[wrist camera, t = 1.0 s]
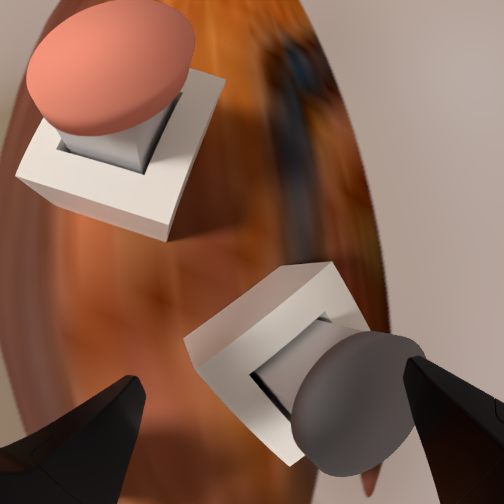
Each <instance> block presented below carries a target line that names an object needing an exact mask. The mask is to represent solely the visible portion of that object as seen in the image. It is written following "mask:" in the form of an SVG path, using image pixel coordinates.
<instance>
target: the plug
mask: <svg viewBox="0 0 504 504" xmlns="http://www.w3.org/2000/svg"><path fill="white" fill-rule="evenodd" d="M416 355H420V356H422V357H424V358H425V359H426V357H425V355H424V352H423V351H422V349H421V348H420V346H419V345H418V344H417V343H416V342H414V341H413V340H411V339H409V338H406V337H402V336H397V335H392V334H387V333H383V332H377V331H361V330H357V329H353V328H349V327H344V326H340V325H336V324H332V323H328V322H324V321H320V320H314V321H313V322H312V323H311V324H310V325H309V326H308V327H306V328H305V329H304V330H303V331H302V332H301V333H300V334H298V335H297V336H296V337H295V338H294V339H292V340H291V341H290V342H289V343H288V344H287V345H285V346H284V347H283V348H282V349H280V350H279V351H278V352H277V353H276V354H274V355H273V356H272V357H271V358H269V359H268V360H267V361H266V362H264V363H263V364H262V365H261V366H259V367H258V368H257V369H256V370H254V371H253V372H254V373H255V374H256V376H257V377H258V378H259V379H260V381H261V382H262V383H263V384H264V385H265V387H266V388H267V389H268V390H269V391H270V393H271V394H272V395H273V396H274V397H275V399H276V400H277V401H278V402H279V403H280V404H281V406H282V407H283V408H284V409H285V410H286V411H287V412H288V413H289V414H290V415H291V431H292V435H293V438H294V441H295V443H296V445H297V446H298V448H299V449H300V450H301V451H302V452H303V453H304V454H305V455H306V456H307V457H308V458H309V459H310V460H311V461H312V462H313V463H314V464H315V465H316V466H317V467H318V468H319V469H320V470H321V471H322V472H324V473H326V474H328V475H331V476H336V477H347V476H353V475H357V474H360V473H363V472H365V471H367V470H369V469H371V468H373V467H375V466H377V465H378V464H380V463H381V462H382V461H384V460H385V459H386V458H388V457H389V456H390V455H391V454H392V453H393V452H394V451H395V450H396V449H397V448H398V447H399V446H400V445H401V444H402V443H403V441H404V440H405V439H406V438H407V436H408V435H409V434H410V432H411V430H412V429H413V427H414V426H415V423H414V420H413V417H412V414H411V410H410V406H409V402H408V398H407V394H406V390H405V387H404V383H403V374H404V370H405V366H406V362H407V359H408V358H409V357H412V356H416Z"/></svg>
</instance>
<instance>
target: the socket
mask: <svg viewBox="0 0 504 504" xmlns="http://www.w3.org/2000/svg"><path fill="white" fill-rule="evenodd" d="M314 320H320V321H324V322H328V323H332V324H336V325H340V326H344V327H349V328H353V329H357V330H361V331H371V330H370V328H369V327H368V325H367V323H366V321H365V319H364V317H363V315H362V313H361V312H360V310H359V308H358V306H357V304H356V302H355V301H354V299H353V297H352V295H351V293H350V292H349V290H348V288H347V286H346V285H345V283H344V281H343V279H342V278H341V276H340V274H339V272H338V271H337V269H336V267H335V266H334V264H333V262H332V261H331V262H320V263H309V264H297V265H286V266H280V267H279V268H277V269H276V270H275V271H273V272H272V273H271V274H269V275H268V276H267V277H266V278H264V279H263V280H262V281H260V282H259V283H258V284H256V285H255V286H254V287H252V288H251V289H250V290H248V291H247V292H246V293H244V294H243V295H242V296H240V297H239V298H238V299H236V300H235V301H234V302H232V303H231V304H230V305H228V306H227V307H226V308H224V309H223V310H221V311H220V312H219V313H217V314H216V315H215V316H213V317H212V318H211V319H209V320H208V321H206V322H205V323H204V324H202V325H201V326H200V327H198V328H197V329H195V330H194V331H193V332H191V333H190V334H189V335H187V336H186V337H184V338H183V339H184V342H185V345H186V348H187V351H188V353H189V356H190V359H191V361H192V364H193V367H194V369H195V371H196V372H197V373H198V374H199V376H200V377H201V378H202V379H203V380H204V381H205V383H206V384H207V385H208V386H209V387H210V388H211V389H212V390H213V392H214V393H215V394H216V395H217V396H218V397H219V398H220V399H221V400H222V401H223V403H224V404H225V405H226V406H227V407H228V408H229V409H230V410H231V411H232V412H233V413H234V414H235V415H236V416H237V417H238V418H239V419H240V420H241V421H242V422H243V423H244V425H245V426H246V427H247V428H248V429H249V430H251V431H252V432H253V433H254V434H255V435H256V436H257V437H258V438H259V439H260V440H261V441H262V442H263V443H264V444H265V445H266V446H267V447H268V448H269V449H270V450H271V451H273V452H274V453H275V454H276V455H277V456H278V457H279V458H280V459H281V460H283V461H284V462H285V463H286V464H287V465H288V466H289V467H290V466H291V465H293V464H294V463H295V462H297V461H298V460H299V459H301V458H302V457H303V456H304V455H305V454H304V453H303V452H302V451H301V450H300V449H299V448H298V446H297V445H296V443H295V441H294V438H293V435H292V431H291V415H290V414H289V413H288V412H287V411H286V410H285V409H284V408H283V407H282V406H281V404H280V403H279V402H278V401H277V400H276V399H275V397H274V396H273V395H272V394H271V393H270V391H269V390H268V389H267V388H266V387H264V388H263V389H262V390H261V389H260V388H259V386H258V385H257V384H256V383H255V382H254V380H253V379H252V378H251V377H250V376H249V374H250V373H252V372H253V371H254V370H256V369H257V368H258V367H259V366H261V365H262V364H263V363H264V362H266V361H267V360H268V359H269V358H271V357H272V356H273V355H274V354H276V353H277V352H278V351H279V350H280V349H282V348H283V347H284V346H285V345H287V344H288V343H289V342H290V341H291V340H292V339H294V338H295V337H296V336H297V335H298V334H300V333H301V332H302V331H303V330H304V329H305V328H306V327H308V326H309V325H310V324H311V323H312V322H313V321H314Z"/></svg>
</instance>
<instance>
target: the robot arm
mask: <svg viewBox="0 0 504 504" xmlns="http://www.w3.org/2000/svg"><path fill="white" fill-rule="evenodd" d="M403 383H404V387H405V390H406V394H407V398H408V402H409V406H410V410H411V414H412V417H413V420H414V423H415V426H416V429H417V431H418V434H419V437H420V440H421V443H422V446H423V448H424V451H425V454H426V457H427V460H428V463H429V466H430V470H431V473H432V476H433V480H434V483H435V486H436V489H437V493H438V497H439V500H440V504H504V403H503V402H501V401H499V400H498V399H496V398H495V399H494V397H492V396H491V395H489V394H487V393H485V392H484V391H482V390H480V389H478V388H476V387H474V386H473V385H471V384H469V383H468V382H466V381H464V380H462V379H460V378H459V377H457V376H455V375H454V374H452V373H450V372H448V371H446V370H445V369H443V368H441V367H439V366H438V365H436V364H434V363H432V362H431V361H429V360H427V359H425V358H424V357H422V356H420V355H416V356H412V357H409V358H408V359H407V362H406V366H405V370H404V374H403ZM145 400H146V393H145V390H144V388H143V386H142V384H141V382H140V380H139V378H138V377H137V376H133V375H126V376H124V377H123V378H121V379H120V380H118V381H117V382H115V383H114V384H112V385H111V386H109V387H107V388H106V389H104V390H103V391H101V392H100V393H98V394H97V395H95V396H94V397H92V398H90V399H89V400H87V401H86V402H84V403H83V404H81V405H79V406H78V407H76V408H75V409H73V410H71V411H70V412H68V413H67V414H65V415H63V416H62V417H60V418H59V419H57V420H56V421H55V422H52V423H50V424H49V425H47V426H46V427H44V428H42V429H40V430H39V431H37V432H35V433H33V434H31V435H29V436H27V437H25V438H23V439H21V440H18V441H16V442H14V443H12V444H10V445H8V446H5V447H2V448H0V504H117V502H118V498H119V495H120V491H121V488H122V485H123V481H124V478H125V475H126V471H127V468H128V465H129V461H130V458H131V455H132V452H133V449H134V446H135V443H136V439H137V436H138V433H139V429H140V424H141V419H142V414H143V409H144V405H145Z"/></svg>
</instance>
